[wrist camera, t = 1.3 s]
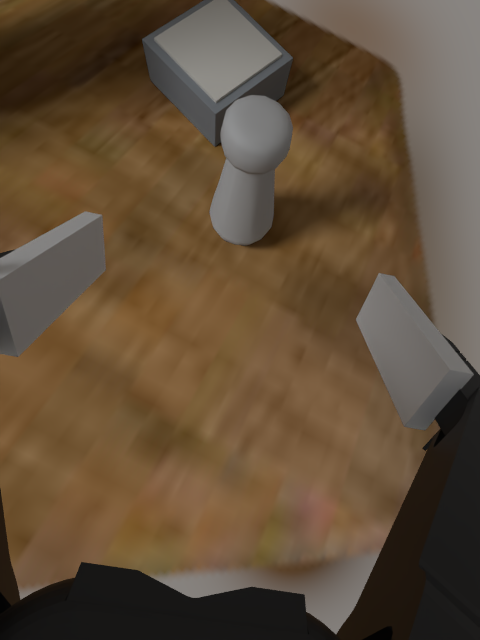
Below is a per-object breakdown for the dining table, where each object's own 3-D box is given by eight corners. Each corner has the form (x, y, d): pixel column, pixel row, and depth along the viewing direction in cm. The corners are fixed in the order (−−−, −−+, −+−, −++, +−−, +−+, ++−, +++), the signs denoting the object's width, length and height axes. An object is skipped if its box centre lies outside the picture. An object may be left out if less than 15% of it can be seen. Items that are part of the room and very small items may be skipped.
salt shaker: (234, 188, 31) (251, 56, 18) (279, 222, 30) (329, 113, 18) (197, 229, 30) (187, 120, 17) (244, 265, 29) (269, 182, 17)
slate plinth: (150, 80, 32) (141, 36, 28) (221, 33, 34) (222, -15, 29) (215, 146, 31) (215, 111, 27) (283, 95, 33) (293, 55, 29)
